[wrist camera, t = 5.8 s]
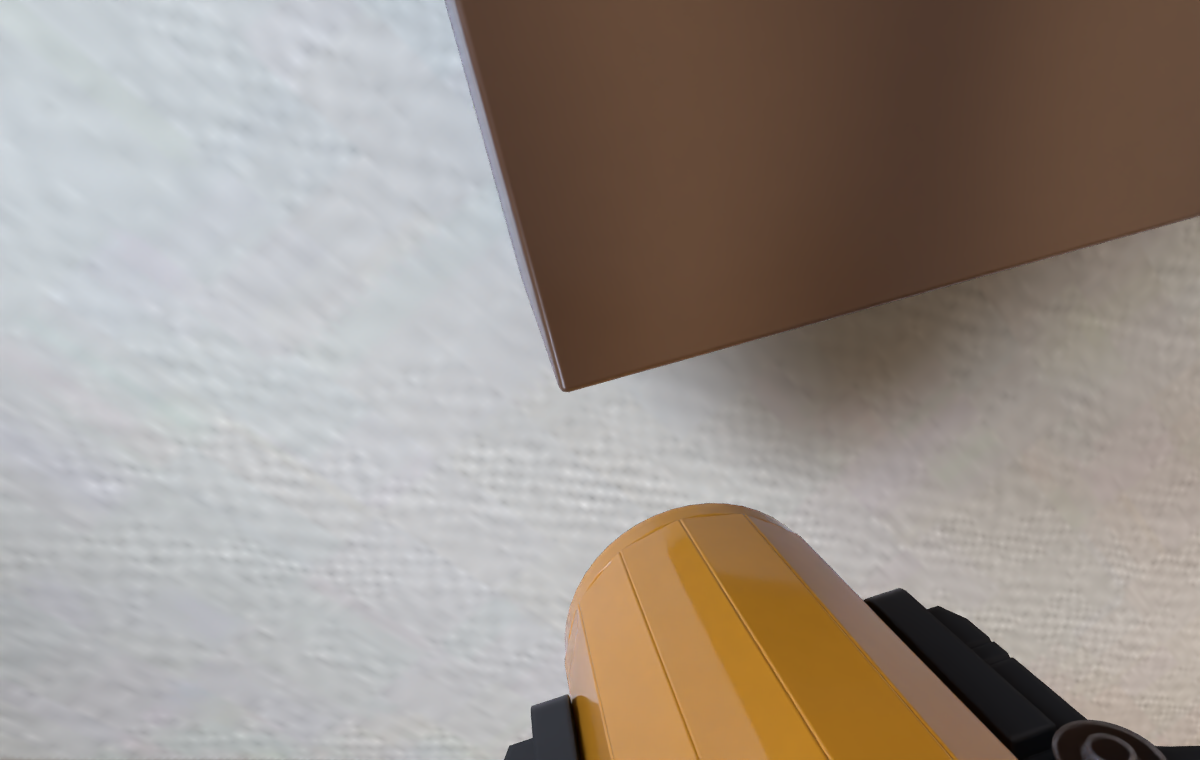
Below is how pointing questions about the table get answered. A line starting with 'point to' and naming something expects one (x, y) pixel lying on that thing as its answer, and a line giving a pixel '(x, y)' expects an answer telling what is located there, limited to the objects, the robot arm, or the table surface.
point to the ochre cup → (746, 654)
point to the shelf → (813, 154)
